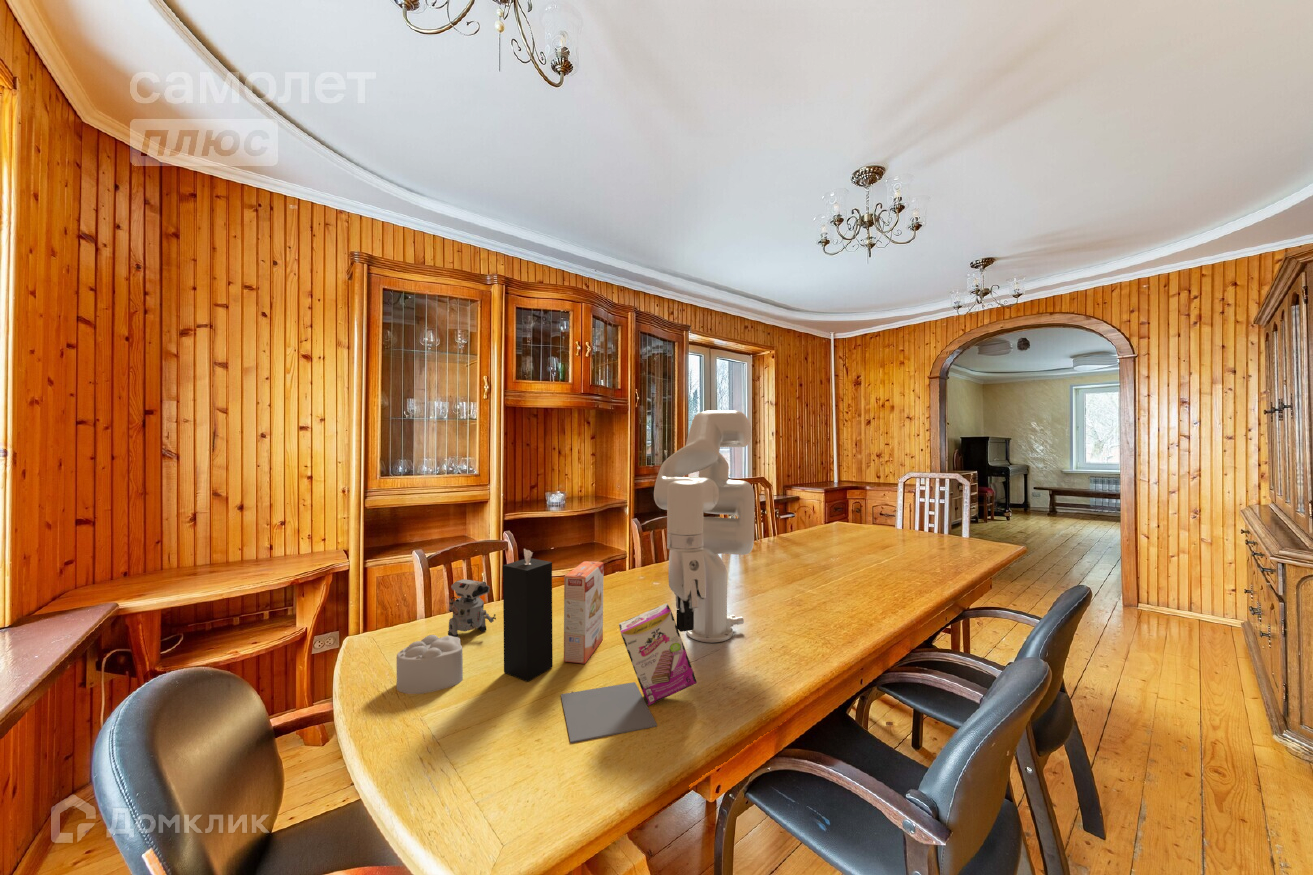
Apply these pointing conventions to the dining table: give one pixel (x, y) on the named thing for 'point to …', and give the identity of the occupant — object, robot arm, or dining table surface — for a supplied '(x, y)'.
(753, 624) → the dining table surface
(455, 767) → the dining table surface
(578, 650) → the cracker box
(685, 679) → the candy bar box
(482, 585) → the figurine
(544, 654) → the black tall square box
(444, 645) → the lumpy-topped squat cylinder
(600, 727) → the felt mat
